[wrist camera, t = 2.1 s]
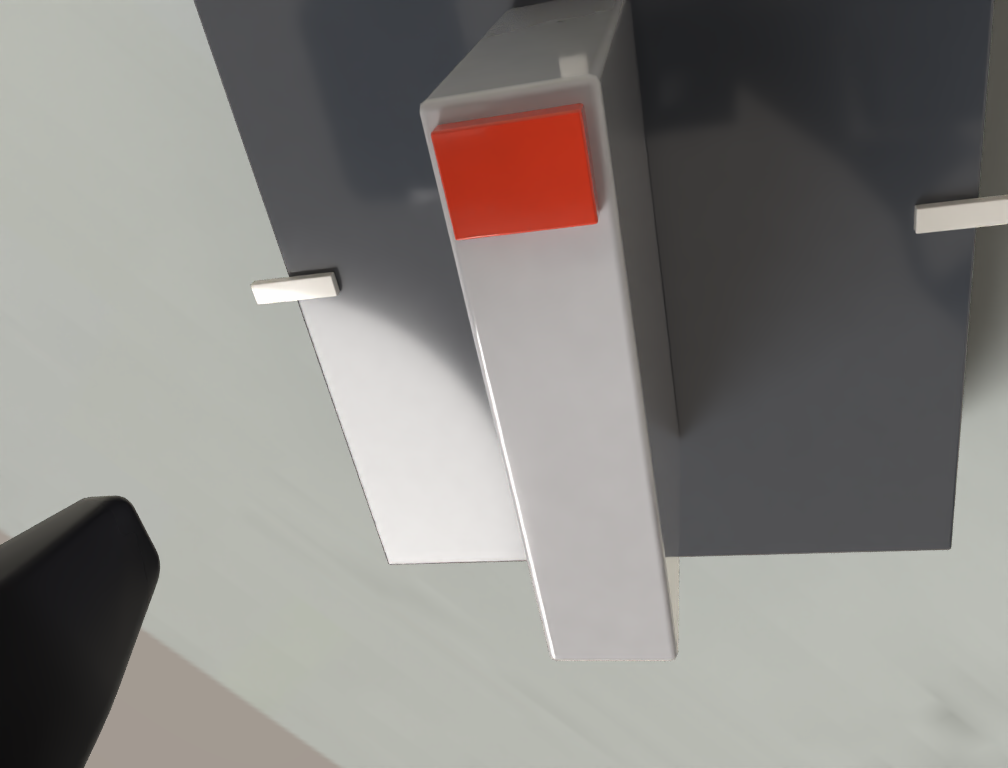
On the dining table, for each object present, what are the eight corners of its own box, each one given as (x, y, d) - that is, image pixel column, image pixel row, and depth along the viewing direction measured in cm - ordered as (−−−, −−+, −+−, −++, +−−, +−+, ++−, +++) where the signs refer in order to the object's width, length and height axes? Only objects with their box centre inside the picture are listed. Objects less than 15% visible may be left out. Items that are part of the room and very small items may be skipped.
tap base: (947, 442, 17) (994, 556, 14) (400, 472, 20) (357, 572, 17) (1002, -339, 11) (1101, -386, 8) (206, -142, 14) (95, -131, 11)
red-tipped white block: (680, 444, 14) (678, 680, 11) (583, 450, 15) (547, 679, 11) (628, -14, 11) (596, 82, 7) (502, 9, 11) (405, 110, 7)
